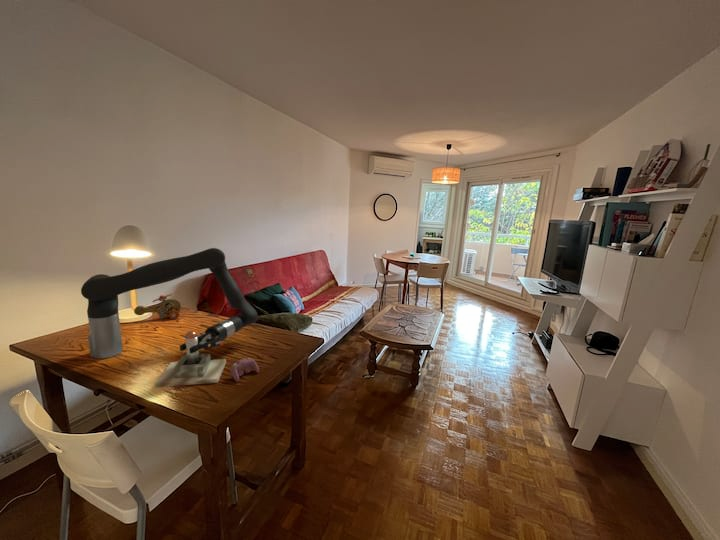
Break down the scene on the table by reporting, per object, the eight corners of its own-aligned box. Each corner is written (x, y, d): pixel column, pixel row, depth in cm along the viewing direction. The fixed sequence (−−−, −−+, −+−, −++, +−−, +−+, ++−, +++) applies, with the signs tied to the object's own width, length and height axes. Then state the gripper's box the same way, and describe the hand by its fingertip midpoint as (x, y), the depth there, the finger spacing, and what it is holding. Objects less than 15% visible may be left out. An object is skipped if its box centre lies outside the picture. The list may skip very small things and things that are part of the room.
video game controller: (255, 372, 115) (250, 355, 115) (261, 371, 112) (256, 354, 112) (231, 382, 107) (226, 364, 108) (237, 382, 104) (232, 363, 105)
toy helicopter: (181, 318, 157) (180, 294, 154) (134, 324, 146) (131, 299, 143) (181, 313, 164) (179, 290, 161) (136, 318, 153) (133, 294, 150)
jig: (155, 387, 99) (154, 372, 98) (171, 365, 113) (170, 352, 111) (217, 382, 104) (217, 369, 103) (226, 362, 117) (225, 350, 116)
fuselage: (185, 368, 105) (183, 334, 102) (189, 363, 109) (186, 329, 106) (197, 368, 106) (195, 333, 103) (200, 362, 110) (198, 329, 107)
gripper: (206, 320, 120) (169, 336, 104) (234, 326, 117) (200, 344, 101) (207, 336, 122) (171, 355, 106) (235, 342, 118) (201, 363, 102)
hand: (185, 349), depth 103 cm, fingers closed on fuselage, 4 cm apart
